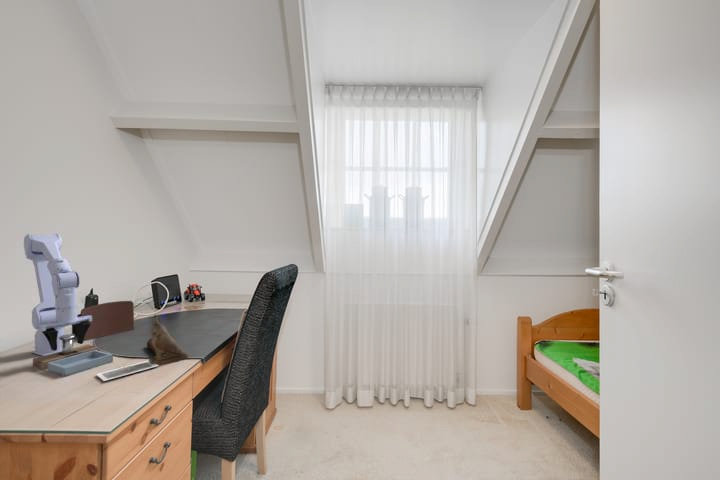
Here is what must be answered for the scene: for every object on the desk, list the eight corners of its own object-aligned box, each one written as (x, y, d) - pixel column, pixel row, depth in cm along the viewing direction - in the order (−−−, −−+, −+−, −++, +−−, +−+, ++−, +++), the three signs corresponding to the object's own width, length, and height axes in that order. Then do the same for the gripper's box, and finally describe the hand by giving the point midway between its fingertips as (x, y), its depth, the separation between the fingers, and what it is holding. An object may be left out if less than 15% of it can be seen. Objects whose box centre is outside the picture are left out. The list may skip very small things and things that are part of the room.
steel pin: (56, 361, 121) (56, 336, 121) (71, 357, 125) (71, 333, 125) (63, 363, 119) (62, 338, 119) (78, 358, 123) (78, 334, 123)
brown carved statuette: (151, 373, 116) (137, 322, 113) (150, 368, 121) (135, 318, 118) (190, 358, 123) (177, 310, 120) (187, 354, 127) (174, 306, 124)
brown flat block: (33, 366, 116) (32, 358, 116) (87, 351, 131) (87, 344, 131) (44, 370, 113) (44, 362, 113) (99, 354, 128) (99, 347, 127)
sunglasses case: (185, 353, 128) (175, 339, 125) (167, 367, 124) (156, 353, 121) (170, 342, 141) (160, 329, 138) (153, 355, 137) (143, 342, 134)
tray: (47, 370, 113) (47, 362, 113) (95, 356, 125) (95, 349, 125) (65, 376, 108) (65, 368, 108) (112, 361, 120) (112, 354, 120)
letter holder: (134, 330, 159) (133, 298, 159) (82, 342, 142) (81, 307, 142) (123, 326, 165) (122, 296, 164) (71, 338, 148) (70, 304, 147)
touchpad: (159, 368, 115) (158, 362, 115) (104, 384, 103) (103, 377, 103) (149, 363, 120) (149, 356, 120) (95, 377, 108) (95, 370, 108)
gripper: (46, 312, 113) (47, 354, 114) (96, 304, 126) (97, 342, 127) (35, 310, 116) (36, 351, 117) (85, 302, 129) (86, 339, 130)
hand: (67, 346), depth 122 cm, fingers open, 7 cm apart
